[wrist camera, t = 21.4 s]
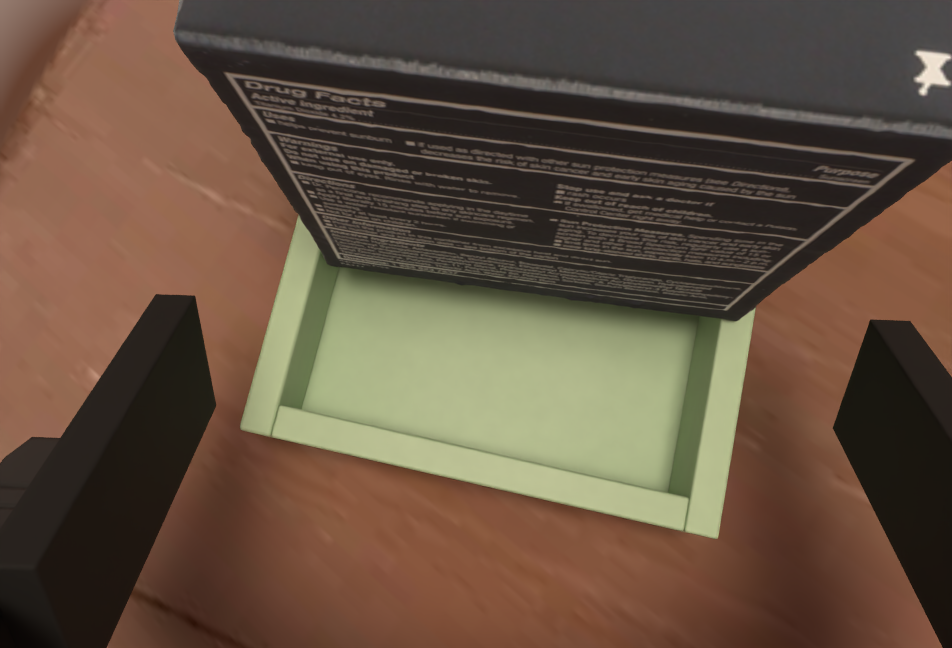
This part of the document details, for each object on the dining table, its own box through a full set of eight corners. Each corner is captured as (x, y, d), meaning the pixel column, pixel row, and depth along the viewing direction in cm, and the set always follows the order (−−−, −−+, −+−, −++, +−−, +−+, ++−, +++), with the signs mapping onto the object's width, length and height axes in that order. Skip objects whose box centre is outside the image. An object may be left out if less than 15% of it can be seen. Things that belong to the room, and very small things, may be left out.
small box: (765, 82, 21) (1027, -293, 11) (746, 327, 20) (1023, 160, 10) (361, 33, 22) (253, -376, 11) (318, 271, 21) (154, 53, 10)
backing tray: (270, 437, 23) (237, 429, 20) (403, -57, 26) (393, -129, 23) (686, 532, 22) (718, 540, 19) (774, 16, 25) (814, -49, 22)
